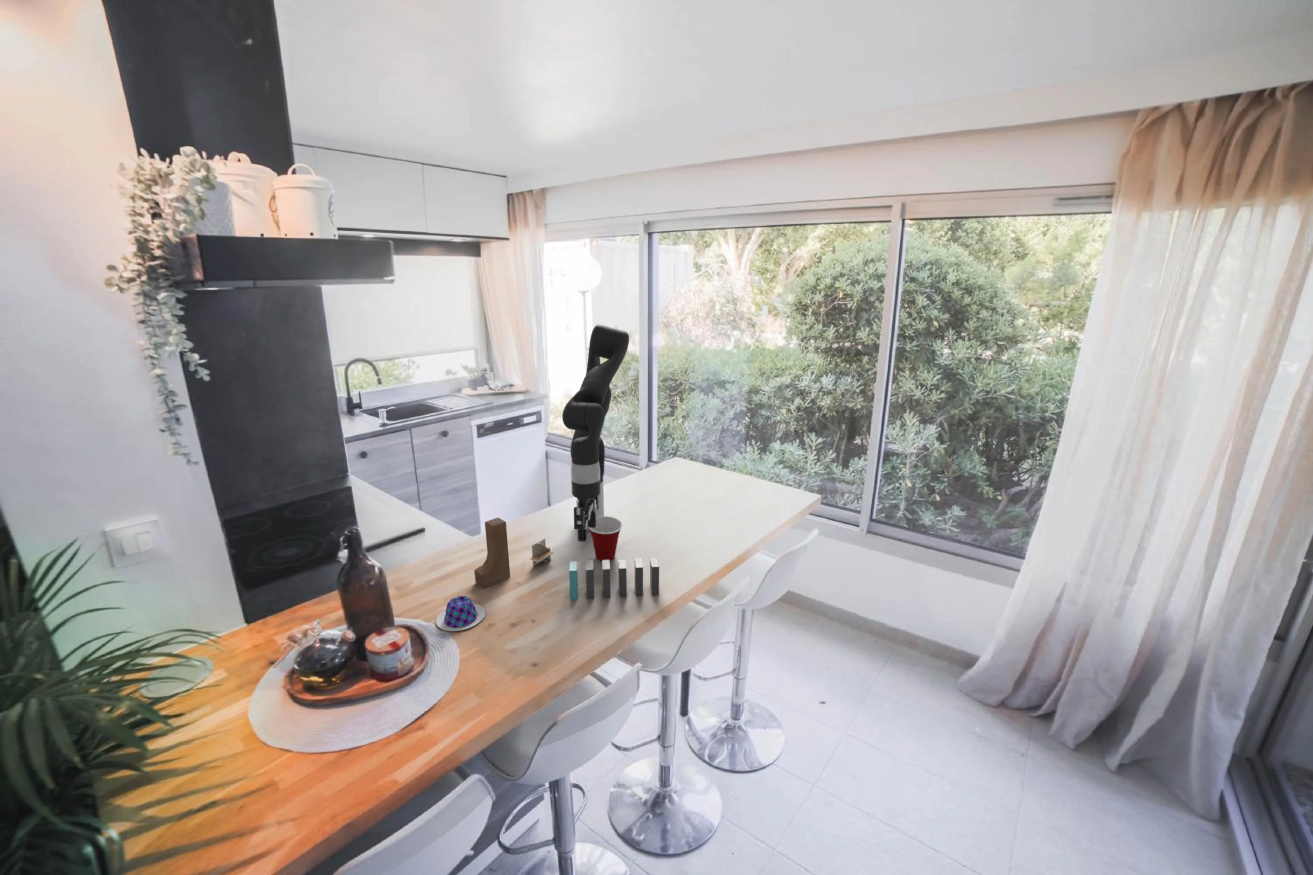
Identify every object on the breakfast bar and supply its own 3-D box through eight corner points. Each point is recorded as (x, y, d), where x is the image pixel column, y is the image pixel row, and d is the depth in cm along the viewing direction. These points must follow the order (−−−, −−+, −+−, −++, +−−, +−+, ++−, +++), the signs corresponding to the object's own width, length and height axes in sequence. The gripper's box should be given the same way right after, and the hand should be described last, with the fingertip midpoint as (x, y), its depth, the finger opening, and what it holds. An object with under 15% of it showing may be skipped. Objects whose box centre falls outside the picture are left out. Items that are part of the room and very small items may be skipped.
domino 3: (603, 598, 148) (602, 569, 145) (603, 588, 152) (602, 560, 150) (610, 597, 148) (609, 568, 145) (610, 587, 153) (609, 559, 150)
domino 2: (586, 599, 147) (585, 569, 145) (587, 589, 152) (586, 560, 149) (594, 598, 147) (593, 569, 145) (594, 588, 152) (593, 560, 150)
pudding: (490, 624, 136) (488, 606, 135) (440, 639, 131) (438, 620, 129) (479, 600, 146) (478, 583, 145) (433, 613, 141) (430, 596, 139)
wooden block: (482, 589, 151) (477, 531, 146) (475, 583, 154) (469, 526, 149) (510, 577, 158) (506, 521, 153) (502, 571, 161) (498, 516, 155)
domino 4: (619, 597, 148) (619, 568, 145) (618, 587, 153) (618, 559, 150) (626, 597, 148) (626, 568, 146) (625, 587, 153) (625, 559, 150)
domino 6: (651, 595, 149) (651, 566, 146) (650, 585, 154) (650, 557, 151) (658, 595, 149) (659, 566, 147) (657, 585, 154) (657, 557, 151)
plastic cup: (603, 570, 162) (603, 534, 158) (581, 557, 169) (580, 523, 166) (630, 557, 169) (629, 523, 166) (607, 546, 176) (607, 512, 173)
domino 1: (570, 599, 147) (569, 570, 144) (571, 589, 151) (569, 561, 149) (577, 599, 147) (576, 570, 144) (578, 589, 152) (577, 561, 149)
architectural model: (554, 562, 167) (553, 541, 165) (538, 572, 161) (536, 550, 159) (546, 559, 169) (545, 538, 167) (530, 568, 163) (528, 546, 161)
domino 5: (635, 596, 149) (635, 567, 146) (634, 586, 153) (634, 558, 151) (643, 596, 149) (643, 567, 146) (641, 586, 154) (641, 558, 151)
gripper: (591, 488, 132) (593, 547, 137) (606, 469, 146) (607, 523, 150) (562, 486, 134) (565, 544, 138) (580, 467, 147) (582, 521, 152)
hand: (587, 533), depth 144 cm, fingers open, 8 cm apart
